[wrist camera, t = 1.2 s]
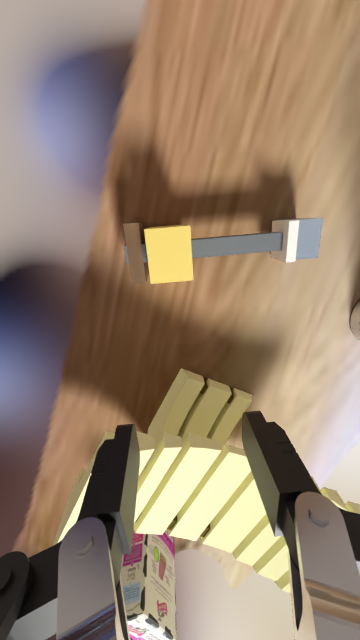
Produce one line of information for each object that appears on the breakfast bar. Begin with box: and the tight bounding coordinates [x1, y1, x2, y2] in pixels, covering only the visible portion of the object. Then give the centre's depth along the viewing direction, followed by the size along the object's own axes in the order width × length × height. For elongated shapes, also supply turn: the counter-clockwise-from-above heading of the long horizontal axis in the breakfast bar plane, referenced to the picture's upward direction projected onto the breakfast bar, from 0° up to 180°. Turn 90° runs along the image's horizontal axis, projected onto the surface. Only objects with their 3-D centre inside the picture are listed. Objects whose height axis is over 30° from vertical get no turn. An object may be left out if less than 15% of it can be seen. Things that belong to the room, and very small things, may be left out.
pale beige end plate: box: [270, 220, 299, 262], centre depth 27 cm, size 1×4×4 cm, turn 4°
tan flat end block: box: [123, 222, 149, 284], centre depth 28 cm, size 2×6×6 cm, turn 4°
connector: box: [270, 218, 323, 260], centre depth 28 cm, size 3×4×6 cm
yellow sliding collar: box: [144, 225, 193, 284], centre depth 26 cm, size 4×5×8 cm
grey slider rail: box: [124, 232, 283, 264], centre depth 26 cm, size 20×2×2 cm, turn 94°
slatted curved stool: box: [53, 368, 360, 593], centre depth 33 cm, size 30×16×18 cm, turn 65°
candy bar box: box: [120, 528, 177, 640], centre depth 41 cm, size 11×5×16 cm, turn 24°
